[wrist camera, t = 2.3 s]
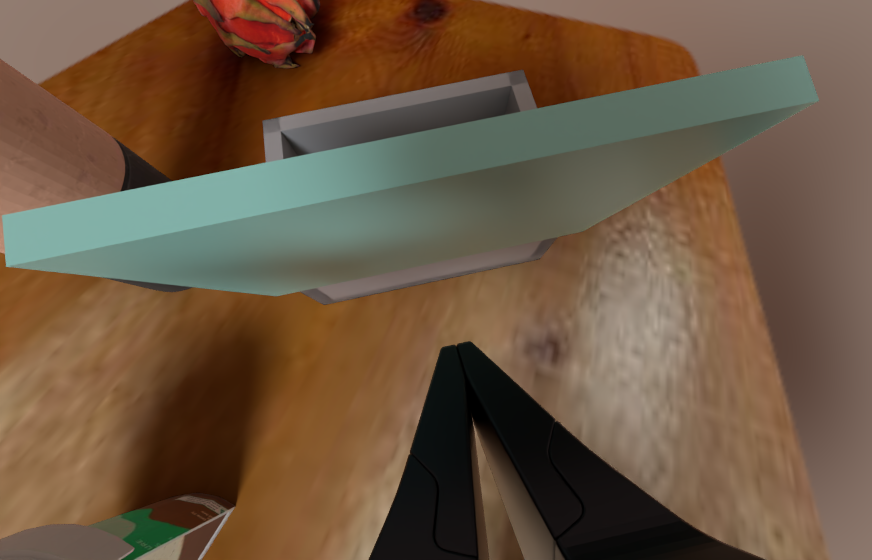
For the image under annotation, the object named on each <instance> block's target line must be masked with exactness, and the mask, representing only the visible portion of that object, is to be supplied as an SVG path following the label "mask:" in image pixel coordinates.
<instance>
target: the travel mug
mask: <svg viewBox="0 0 872 560" xmlns="http://www.w3.org/2000/svg"><path fill="white" fill-rule="evenodd" d="M167 182H172V181H171V180H170V179H169V178H167V177H166V176H165V175H163V174H162V173H161V172H159V171H158V170H157V169H155V168H154V167H153V166H151V165H150V164H149V163H147V162H146V161H145V160H143V159H142V158H140V157H139V156H138V155H136V154H135V153H134V152H132V151H131V150H130V149H128V148H127V147H126V146H124V145H123V144H122V143H120V142H119V141H118V140H116V139H115V138H113V137H112V136H110V135H109V134H108V133H107V132H105V131H104V130H102V129H101V128H99V127H98V126H97V125H95V124H94V123H92V122H91V121H89V120H88V119H86V118H85V117H84V116H82V115H81V114H79V113H78V112H76V111H75V110H73V109H72V108H70V107H69V106H68V105H66V104H65V103H63V102H62V101H60V100H59V99H57V98H56V97H55V96H53V95H52V94H50V93H49V92H47V91H46V90H44V89H43V88H42V87H40V86H39V85H37V84H36V83H34V82H33V81H31V80H30V79H28V78H27V77H26V76H24V75H23V74H21V73H20V72H18V71H17V70H15V69H14V68H13V67H11V66H10V65H8V64H7V63H5V62H4V61H3V60H1V59H0V252H1V253H4V254H5V246H4V234H3V222H2V215H6V214H11V213H16V212H21V211H26V210H31V209H36V208H41V207H46V206H51V205H56V204H61V203H66V202H71V201H76V200H81V199H86V198H91V197H96V196H102V195H107V194H112V193H117V192H122V191H127V190H132V189H137V188H142V187H147V186H152V185H157V184H162V183H167ZM103 278H106V277H103ZM107 279H111V280H115V281H119V282H123V283H128V284H132V285H136V286H140V287H144V288H149V289H153V290H158V291H164V292H176V291H182V290H186V289H189V288H192V287H188V286H178V285H169V284H160V283H151V282H142V281H133V280H124V279H115V278H107Z"/></svg>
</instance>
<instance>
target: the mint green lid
mask: <svg viewBox="0 0 872 560" xmlns="http://www.w3.org/2000/svg"><path fill="white" fill-rule="evenodd" d="M818 101H819V99H818V96H817V93H816V90H815V88H814V85H813V82H812V79H811V76H810V74H809V71H808V68H807V65H806V62H805V59H804V57H803V56H797V57H792V58H787V59H782V60H777V61H772V62H767V63H762V64H757V65H752V66H747V67H743V68H737V69H732V70H727V71H722V72H717V73H713V74H707V75H702V76H697V77H692V78H687V79H682V80H677V81H672V82H667V83H662V84H657V85H652V86H647V87H642V88H637V89H632V90H627V91H622V92H617V93H612V94H607V95H602V96H597V97H592V98H587V99H582V100H577V101H572V102H567V103H562V104H557V105H552V106H547V107H542V108H537V109H532V110H527V111H522V112H517V113H512V114H507V115H502V116H497V117H492V118H487V119H482V120H477V121H472V122H467V123H462V124H457V125H452V126H447V127H442V128H437V129H432V130H427V131H422V132H417V133H412V134H407V135H402V136H397V137H392V138H387V139H382V140H377V141H372V142H367V143H362V144H357V145H352V146H347V147H342V148H337V149H332V150H327V151H322V152H317V153H312V154H307V155H302V156H297V157H292V158H287V159H282V160H277V161H272V162H267V163H262V164H257V165H252V166H247V167H242V168H237V169H232V170H227V171H222V172H217V173H212V174H207V175H202V176H197V177H192V178H187V179H182V180H177V181H172V182H167V183H162V184H157V185H152V186H147V187H142V188H137V189H132V190H127V191H122V192H117V193H112V194H107V195H102V196H96V197H91V198H86V199H81V200H76V201H71V202H66V203H61V204H56V205H51V206H46V207H41V208H36V209H31V210H26V211H21V212H16V213H11V214H6V215H2V222H3V234H4V246H5V258H6V267H15V268H24V269H33V270H42V271H51V272H60V273H69V274H78V275H88V276H97V277H106V278H115V279H124V280H133V281H142V282H151V283H160V284H169V285H178V286H188V287H197V288H206V289H215V290H224V291H233V292H242V293H251V294H260V295H269V296H280V295H285V294H289V293H294V292H299V291H304V290H308V289H313V288H318V287H323V286H327V285H332V284H337V283H342V282H346V281H351V280H356V279H361V278H365V277H370V276H375V275H380V274H384V273H389V272H394V271H399V270H403V269H408V268H413V267H417V266H422V265H427V264H432V263H436V262H441V261H446V260H451V259H455V258H460V257H465V256H470V255H474V254H479V253H484V252H489V251H493V250H498V249H503V248H508V247H512V246H517V245H522V244H527V243H531V242H536V241H541V240H545V239H550V238H555V237H560V236H564V235H569V234H574V233H579V232H583V231H585V230H586V229H588V228H590V227H592V226H594V225H595V224H597V223H599V222H601V221H603V220H604V219H606V218H608V217H610V216H612V215H613V214H615V213H617V212H619V211H621V210H622V209H624V208H626V207H628V206H630V205H632V204H633V203H635V202H637V201H639V200H641V199H642V198H644V197H646V196H648V195H650V194H651V193H653V192H655V191H657V190H659V189H660V188H662V187H664V186H666V185H668V184H669V183H671V182H673V181H675V180H677V179H679V178H680V177H682V176H684V175H686V174H688V173H689V172H691V171H693V170H695V169H697V168H698V167H700V166H702V165H704V164H706V163H707V162H709V161H711V160H713V159H715V158H716V157H718V156H720V155H722V154H724V153H726V152H727V151H729V150H731V149H733V148H734V147H736V146H738V145H740V144H742V143H744V142H745V141H747V140H749V139H751V138H753V137H754V136H756V135H758V134H760V133H761V132H763V131H765V130H767V129H769V128H771V127H772V126H774V125H776V124H778V123H780V122H782V121H783V120H785V119H787V118H789V117H791V116H792V115H794V114H796V113H798V112H800V111H801V110H803V109H805V108H807V107H808V106H810V105H812V104H814V103H816V102H818Z"/></svg>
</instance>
